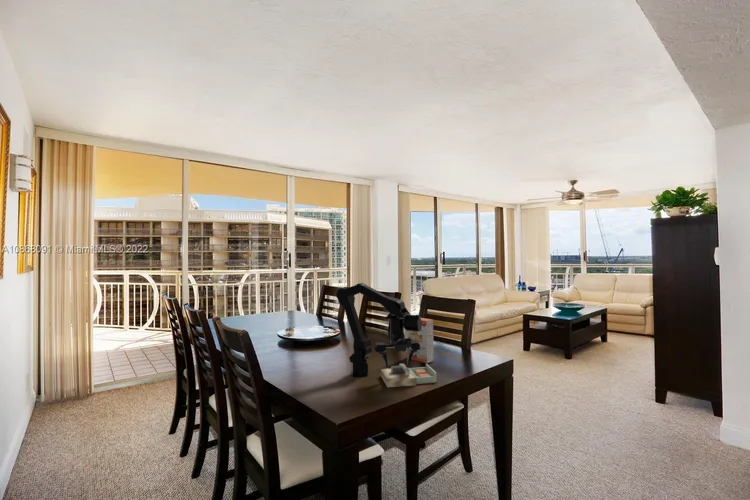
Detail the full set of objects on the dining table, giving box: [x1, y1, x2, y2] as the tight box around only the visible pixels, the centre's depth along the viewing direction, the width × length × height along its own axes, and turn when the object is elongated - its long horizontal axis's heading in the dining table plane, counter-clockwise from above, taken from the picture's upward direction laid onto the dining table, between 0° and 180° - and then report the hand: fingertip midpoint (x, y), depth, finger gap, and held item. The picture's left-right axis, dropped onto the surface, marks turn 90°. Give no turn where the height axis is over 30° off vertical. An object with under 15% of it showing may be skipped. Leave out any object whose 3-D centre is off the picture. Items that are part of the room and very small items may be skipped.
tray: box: [408, 363, 438, 385], centre depth 161 cm, size 8×13×4 cm, turn 10°
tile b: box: [415, 369, 426, 376], centre depth 164 cm, size 4×4×2 cm
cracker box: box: [404, 317, 435, 365], centre depth 187 cm, size 14×6×21 cm, turn 45°
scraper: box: [390, 363, 410, 375], centre depth 159 cm, size 2×11×6 cm
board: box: [380, 366, 417, 388], centre depth 158 cm, size 12×14×3 cm
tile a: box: [419, 374, 430, 377], centre depth 157 cm, size 4×4×2 cm
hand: (397, 366), depth 159 cm, fingers open, 9 cm apart
